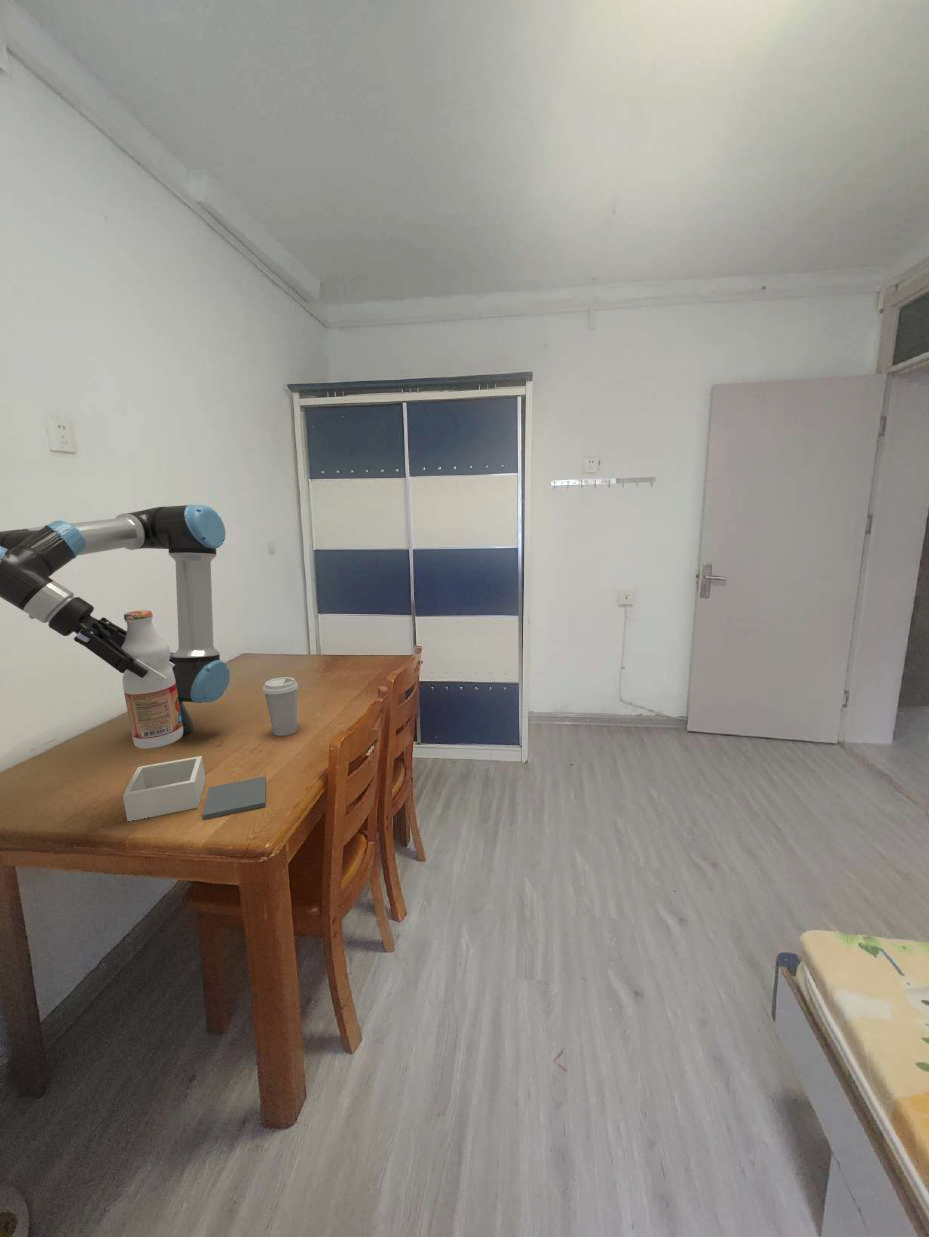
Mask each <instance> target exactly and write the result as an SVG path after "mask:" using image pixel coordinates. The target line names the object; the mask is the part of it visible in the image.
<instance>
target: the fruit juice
mask: <svg viewBox="0 0 929 1237" xmlns="http://www.w3.org/2000/svg"><path fill="white" fill-rule="evenodd" d="M123 619H124V622H125V623H126V626H127V628H126V631H127V634H126V638H125V641H124V644H123V645H122V647H121V648H122V649H123V650H124V651H125V652H126V653H127V654H129V655H130V656H131V657H132V658H133V659H134V660H136V659H138V660H140V661H141V662H143V663H145V664H146V665H148V666H149V667H151V668H153V669H154V670H156V671H157V672H159V673H160V674H162V675H164V676H165V677H167V678H166V679H165V680H164V681H163V683H162V684H161V685H160V686H159V687H158V688H157V689H156V688H155V687H153V686H151V685H150V684H148V683H146V682H145V681H143V680H142V679H140V678H138V677H137V676H135V675H134V674H132V673H130V672H129V671H127V670H126V671H125V672H124V673H123V675H122V688H123V694H124V699H125V704H126V705H125V706H126V710H127V716H128V721H129V727H130V732H131V737H132V742H133V744H134V746H135V747H136V748H139V749H146V750H147V749H154V748H155V749H156V748H161V747H164V746H168V745H170V744H172V743H175V742H177V741H179V740H180V739H181V738H182V737H183V736H182V735H183V725H182V719H181V712H180V706H179V700H178V694H177V687H176V680H175V676H174V672H173V669H172V668H171V667H170V664H169V660H170V652H171V650H170V647H169V645H168V643H167V642H166V641H165V640H164V639H163V638H161V637H160V635H159V634H158V633H157V630H156V629H155V627H154V625H153V622H152V619H153V613H152V611H151V610H147V609H146V610H145V609H144V610H143V609H142V610H135V611H133V610H132V611H130V612H126V613H124V614H123Z"/></svg>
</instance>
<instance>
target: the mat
mask: <svg viewBox="0 0 929 1237" xmlns="http://www.w3.org/2000/svg"><path fill="white" fill-rule="evenodd" d="M266 798H267V777H266V775H265V776H261V777H256V778H250V779H245V780H239V781H235V782H231V783H230V782H229V783H225V784H219V785H213V786H209V787H208V789H207V793H206V797H205V802H204V806H203V810H202V814H201V816H202V821H203V820H209V819H212V818H218V817H223V816H227V815H233V814H236V813H241V812H246V811H252V810H256V809H261V808H265V807H266V803H267V802H266V801H267V800H266Z"/></svg>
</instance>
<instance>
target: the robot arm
mask: <svg viewBox="0 0 929 1237" xmlns="http://www.w3.org/2000/svg"><path fill="white" fill-rule="evenodd" d="M225 540H226V527H225V523H224V522H223V520H222V517H221V516H220V515H219V514H218V512H217V511H216V510H214V509H213V508H212V507H210V506H207V505H201V504H200V505H199V504H188V505H187V504H185V505H173V506H172V505H171V506H157V507H156V506H155V507H151V508H148V509H143V510H138V511H132V512H128V513H127V512H126V513H124V512H123V513H120V514H119V515H117V516H116V517H115V518H108V519H107V518H106V519H99V520H91V521H89V520H88V521H81V522H72V523H69V522H67V521H64V520H54V521H52V522H50V523H48V524H45V525H44V526H36V527H28V528H21V529H19V528H18V529H13V530H2V531H1V530H0V598H1V599H3V600H5V601H6V602H8V603H10V604H11V605H13V606H14V607H16V608H18V609H19V610H21V611H23V612H24V613H26V614H28V618H29V619H31V620H34V619H36V620H38V621H39V622H40V623H43V624H47V623H48V628H50V629H51V630H53V631H55V632H57V634H60V635H61V636H63V637H68V636H70V635H71V634H73V633H75V634H77V635H75V637H73V640H74V641H75V642H76V643H78V644H79V645H81V646H82V647H85V648H86V649H88V650H89V651H90V652H92V653H93V654H95V655H96V656H97V657H99V658H100V659H101V660H102V661H104V662H105V663H107V664H108V665H110V666H111V667H112V668H113V669H115V670H116V671H118V673H121V674H124V672H125V671H126V670H127V671H129V672H130V673H132V674H134V675H135V676H137V677H138V678H140V679H142V680H143V681H145V682H146V683H148V684H150V685H151V686H153V687H155V688H156V689H157V688H158V687H159V686H160V685H161V684H162V683H163V681H164V680H165V679H166V678H167V677H165V676H164V675H162V674H160V673H159V672H157V671H156V670H154V669H153V668H151V667H149V666H148V665H146V664H145V663H143V662H141V661H140V660H138V659H136V660H134V659H133V658H132V657H131V656H130V655H129V654H127V653H126V652H125V651H124V650H123V649H122V648H121V647H122V645H123V644H124V641H125V638H126V634H127V630H126V629H124V628H122V627H120V626H118V625H116V624H114V623H112V622H111V621H110V620H109V619H107V618H106V617H101V618H100V619H97V618H96V617H93V616H92V615H91V614H92V613H93V612H94V610H95V608H94V607H95V606H94V605H92V604H90V603H89V602H87V601H86V600H84V599H83V598H81V597H79V596H76V597H75V594H74V592H72V591H71V590H69V589H68V588H66V587H65V586H63V585H61V584H60V583H58V582H57V581H55V580H54V579H52V578H50V577H51V576H52V575H53V574H54V573H56V572H57V571H59V570H61V569H62V568H63V567H64V566H66V565H67V564H68V563H70V562H71V561H72V560H74V559H77V556H82V555H83V556H84V555H88V554H89V555H90V554H95V553H101V552H107V551H112V550H118V549H123V548H124V549H127V550H129V551H135V550H141V549H153V550H155V549H156V550H157V549H159V550H160V549H161V550H168V556H169V557H170V558H172V559H173V560H174V562H175V580H176V581H175V582H176V585H175V586H176V608H177V609H176V612H177V636H178V637H177V640H178V649H177V650H176V651H175V652H173V651H172V652H171V651H170V660H169V664H170V667H171V668H172V669H173V672H174V676H175V680H176V687H177V694H178V700H179V706H180V712H181V719H182V725H183V735H182V737H184V736H186V735H187V734H189V733H191V732H192V731H194V727H195V726H194V720H193V718H192V716H191V714H190V712H189V711H188V709H187V708H186V706H185V704H184V702H185V703H186V702H187V703H195V704H196V703H197V704H203V703H213V702H216V701H217V700H218V699H220V698H221V697H222V696H223V695H224V693H225V691H226V690H227V688H228V687H229V683H230V679H231V678H230V677H231V673H230V668H229V666H228V664H227V663H226V662H224V661H223V660H221V655H220V654H221V653H220V651H218V649H216V648H215V647H214V625H213V624H214V622H213V598H212V597H213V592H212V589H213V588H212V568H211V567H212V566H211V564H212V563H211V562H212V560H214V559H215V558H216V557H217V549H218V548H220V547H221V546H223V544H224V542H225Z"/></svg>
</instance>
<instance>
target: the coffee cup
mask: <svg viewBox="0 0 929 1237" xmlns="http://www.w3.org/2000/svg"><path fill="white" fill-rule="evenodd" d="M298 688H299V684H298V683H297V681H296V680H295V678H293V677H289V676H286V677H285V676H284V677H282V676H281V677H276V678H271V679H269V680H267V681H265V683H264V686H263V687H262V693H263V694H264V696H265V701H266V706H267V709H268V713H269V714H268V715H269V719H270V723H271V724H270V725H271V728H272V732H273V735H274V736H277V737H285V736H286V737H287V736H291V735H293V734H295V733H296V732H297V731H298ZM290 734H291V735H290Z"/></svg>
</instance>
